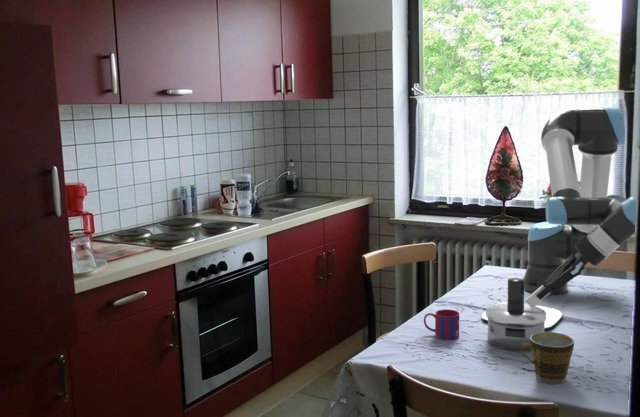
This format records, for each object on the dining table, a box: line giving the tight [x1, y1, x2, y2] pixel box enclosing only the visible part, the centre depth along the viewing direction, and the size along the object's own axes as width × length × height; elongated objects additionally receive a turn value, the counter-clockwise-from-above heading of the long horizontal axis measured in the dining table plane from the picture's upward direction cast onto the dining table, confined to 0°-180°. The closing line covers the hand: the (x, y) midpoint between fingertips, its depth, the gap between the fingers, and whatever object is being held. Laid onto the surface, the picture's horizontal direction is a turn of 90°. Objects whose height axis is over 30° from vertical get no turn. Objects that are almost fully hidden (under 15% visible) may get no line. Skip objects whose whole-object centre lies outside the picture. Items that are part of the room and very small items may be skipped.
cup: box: [423, 309, 460, 341], centre depth 191 cm, size 7×10×7 cm
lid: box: [485, 277, 546, 326], centre depth 183 cm, size 16×16×10 cm
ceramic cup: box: [519, 331, 575, 385], centre depth 159 cm, size 13×10×10 cm
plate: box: [481, 301, 563, 330], centre depth 204 cm, size 22×22×2 cm
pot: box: [487, 319, 545, 353], centre depth 185 cm, size 20×15×7 cm
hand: (528, 304), depth 182 cm, fingers closed
